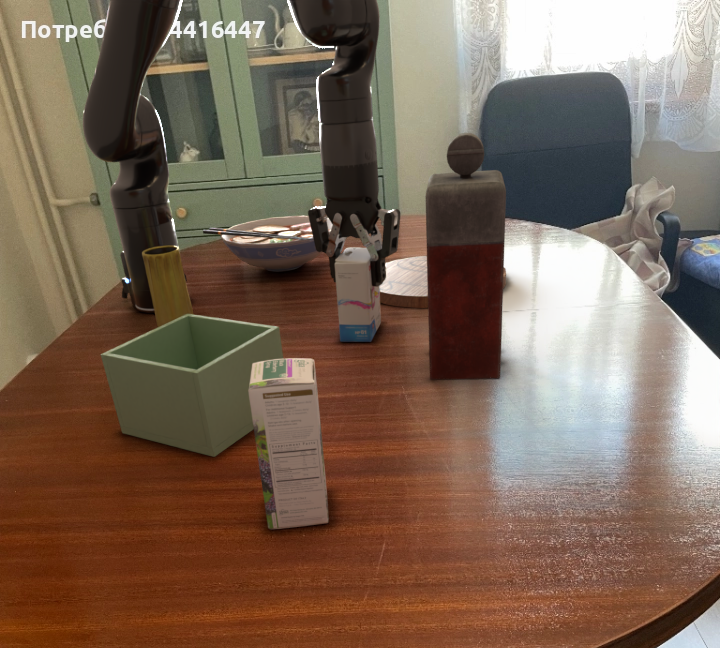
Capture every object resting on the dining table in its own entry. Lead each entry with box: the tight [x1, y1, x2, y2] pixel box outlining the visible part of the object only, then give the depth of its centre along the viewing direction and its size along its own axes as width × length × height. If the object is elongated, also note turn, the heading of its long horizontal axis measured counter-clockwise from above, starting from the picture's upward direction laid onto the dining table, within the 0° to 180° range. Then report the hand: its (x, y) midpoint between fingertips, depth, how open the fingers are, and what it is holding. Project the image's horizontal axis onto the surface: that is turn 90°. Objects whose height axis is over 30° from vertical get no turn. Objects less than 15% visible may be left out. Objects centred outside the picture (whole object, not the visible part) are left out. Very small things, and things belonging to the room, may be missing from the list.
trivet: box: [379, 254, 507, 309], centre depth 127 cm, size 25×25×2 cm
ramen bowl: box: [202, 215, 333, 273], centre depth 143 cm, size 25×23×8 cm
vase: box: [142, 245, 195, 328], centre depth 107 cm, size 6×6×14 cm
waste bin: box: [100, 313, 284, 458], centre depth 86 cm, size 14×14×10 cm
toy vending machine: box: [425, 132, 507, 381], centre depth 90 cm, size 9×11×28 cm
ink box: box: [335, 246, 382, 343], centre depth 107 cm, size 9×5×12 cm, turn 168°
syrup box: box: [248, 357, 330, 530], centre depth 66 cm, size 6×6×14 cm
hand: (358, 282), depth 106 cm, fingers closed on ink box, 6 cm apart
